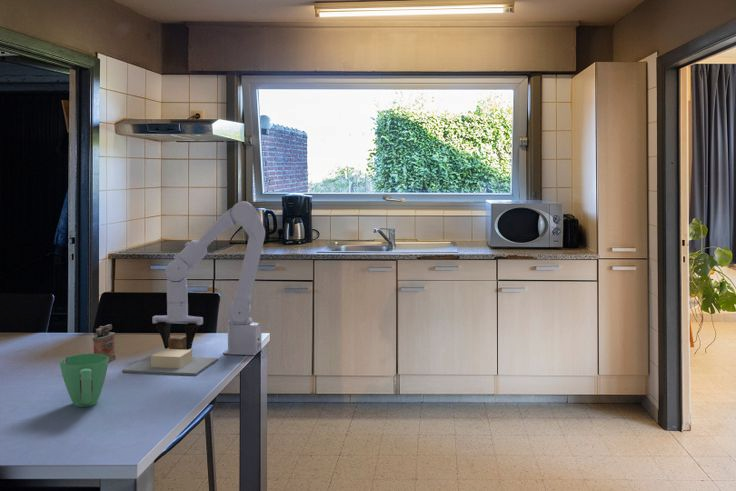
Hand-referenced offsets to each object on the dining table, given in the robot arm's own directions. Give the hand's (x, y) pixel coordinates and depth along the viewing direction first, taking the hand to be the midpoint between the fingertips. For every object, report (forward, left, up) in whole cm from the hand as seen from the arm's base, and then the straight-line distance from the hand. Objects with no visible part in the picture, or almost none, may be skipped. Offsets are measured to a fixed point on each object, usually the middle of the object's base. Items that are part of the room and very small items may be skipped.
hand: (178, 348), depth 192 cm
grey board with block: (-4, +13, -2) cm, 14 cm away
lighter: (+16, +12, -2) cm, 20 cm away
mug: (0, +48, -2) cm, 48 cm away
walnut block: (0, 0, -2) cm, 2 cm away
